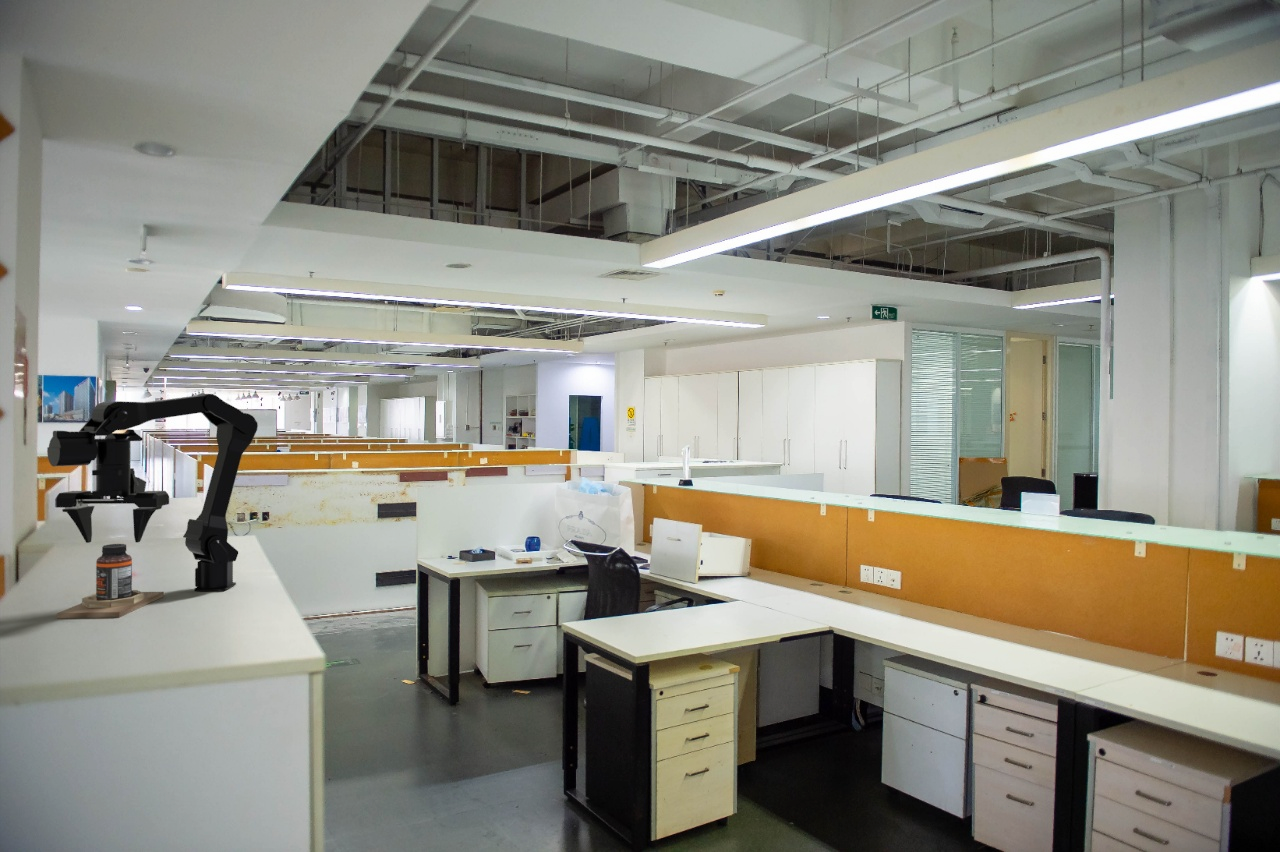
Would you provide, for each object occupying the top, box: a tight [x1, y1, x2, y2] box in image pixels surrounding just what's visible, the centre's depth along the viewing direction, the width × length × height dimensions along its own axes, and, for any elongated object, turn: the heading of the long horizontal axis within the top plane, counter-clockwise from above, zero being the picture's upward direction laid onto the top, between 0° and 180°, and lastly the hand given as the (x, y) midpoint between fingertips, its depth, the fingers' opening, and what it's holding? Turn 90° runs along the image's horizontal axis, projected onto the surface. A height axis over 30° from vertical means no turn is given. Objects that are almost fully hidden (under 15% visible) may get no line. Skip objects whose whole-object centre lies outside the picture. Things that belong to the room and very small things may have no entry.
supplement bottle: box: [95, 543, 133, 601], centre depth 157 cm, size 6×6×11 cm
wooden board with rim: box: [56, 589, 165, 619], centre depth 157 cm, size 11×17×2 cm, turn 6°
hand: (113, 542), depth 157 cm, fingers open, 9 cm apart
